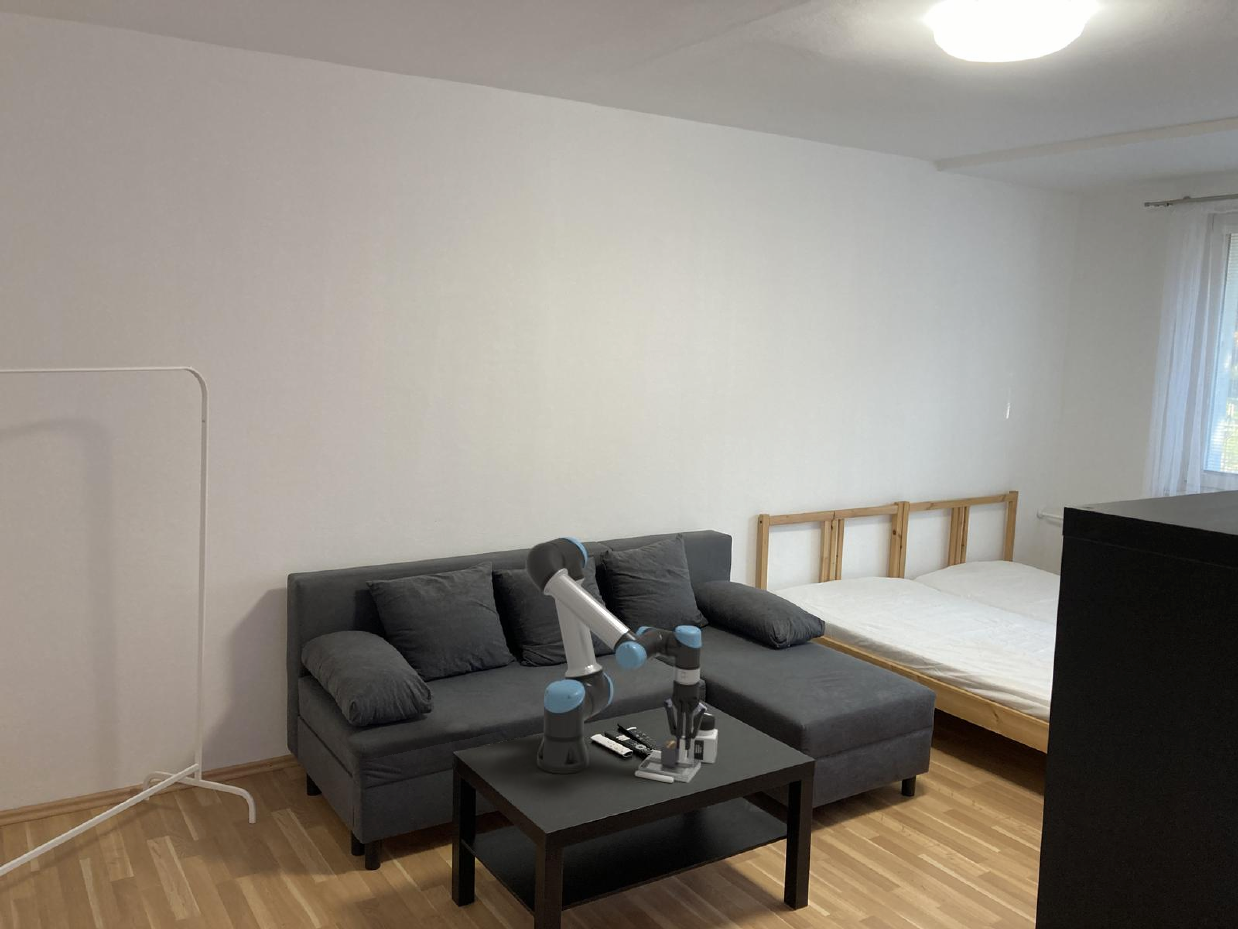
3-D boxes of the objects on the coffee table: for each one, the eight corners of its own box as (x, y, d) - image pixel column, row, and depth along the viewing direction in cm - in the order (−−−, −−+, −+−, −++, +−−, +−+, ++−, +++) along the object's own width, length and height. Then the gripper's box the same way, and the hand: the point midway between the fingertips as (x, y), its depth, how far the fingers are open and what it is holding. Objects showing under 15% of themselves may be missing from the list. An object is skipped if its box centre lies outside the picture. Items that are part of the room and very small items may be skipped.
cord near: (634, 776, 284) (634, 771, 284) (636, 774, 285) (636, 769, 285) (672, 784, 280) (672, 778, 279) (674, 782, 281) (674, 776, 281)
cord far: (640, 754, 300) (640, 748, 300) (642, 752, 301) (642, 747, 301) (677, 760, 296) (677, 755, 296) (678, 758, 297) (678, 753, 297)
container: (714, 763, 294) (715, 721, 293) (688, 761, 296) (689, 718, 294) (716, 753, 302) (718, 712, 300) (691, 751, 303) (693, 709, 302)
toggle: (660, 763, 287) (661, 746, 287) (666, 757, 292) (666, 740, 291) (673, 765, 286) (674, 748, 285) (679, 759, 290) (679, 742, 290)
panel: (638, 773, 286) (638, 765, 286) (652, 758, 297) (652, 750, 297) (688, 782, 281) (688, 775, 281) (700, 766, 292) (701, 759, 292)
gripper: (660, 681, 283) (657, 760, 286) (704, 688, 279) (700, 769, 281) (668, 673, 290) (665, 751, 293) (712, 680, 286) (708, 759, 288)
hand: (682, 759), depth 287 cm, fingers closed
